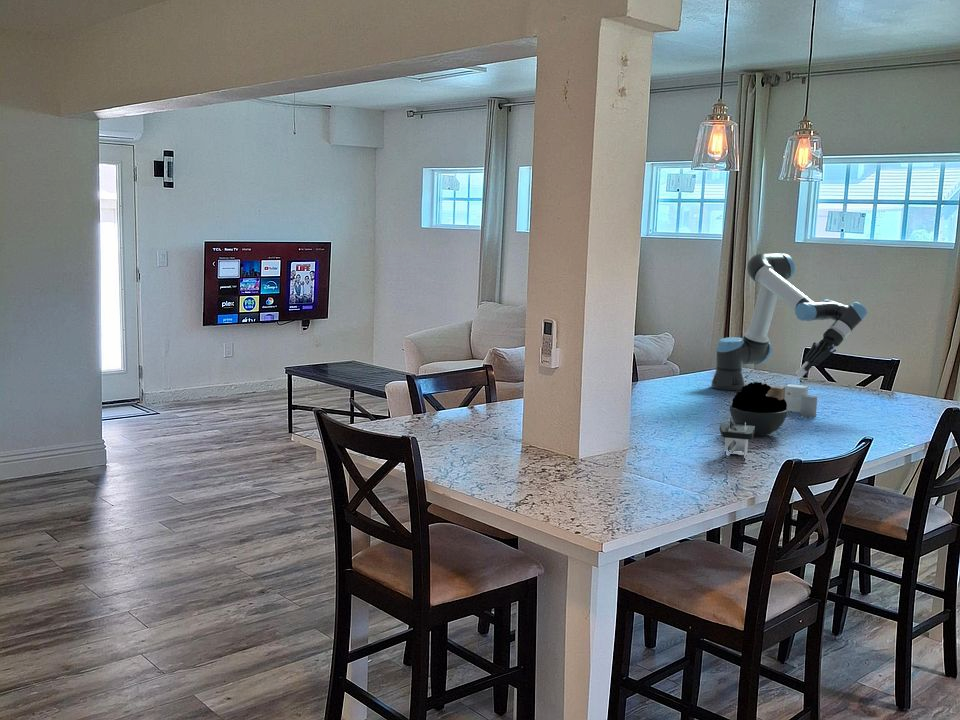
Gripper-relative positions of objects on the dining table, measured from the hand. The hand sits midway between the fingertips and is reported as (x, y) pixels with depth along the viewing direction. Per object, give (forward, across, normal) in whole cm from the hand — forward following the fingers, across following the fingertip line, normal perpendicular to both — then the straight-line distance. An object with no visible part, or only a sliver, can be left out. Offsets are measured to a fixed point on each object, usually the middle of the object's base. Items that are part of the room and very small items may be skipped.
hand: (798, 375), depth 369 cm
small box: (+11, 0, -10) cm, 15 cm away
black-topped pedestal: (+57, -63, +35) cm, 92 cm away
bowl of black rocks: (+39, -35, +17) cm, 55 cm away
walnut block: (+12, +12, -9) cm, 19 cm away
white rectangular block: (+12, -10, -9) cm, 18 cm away
